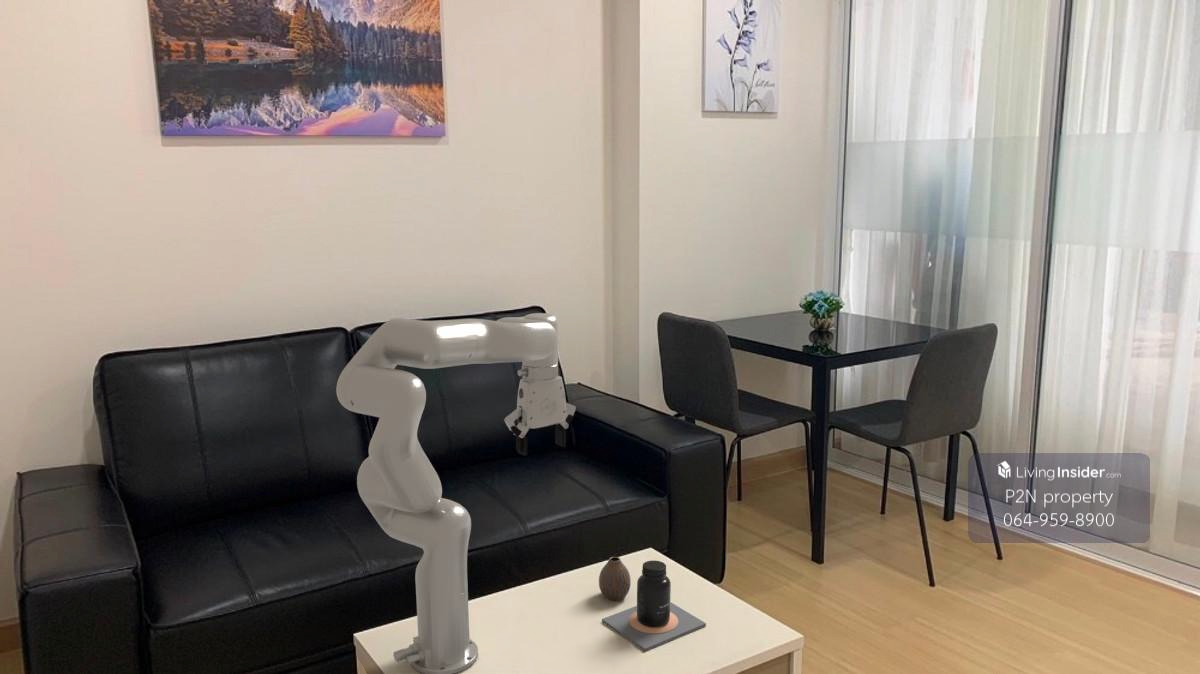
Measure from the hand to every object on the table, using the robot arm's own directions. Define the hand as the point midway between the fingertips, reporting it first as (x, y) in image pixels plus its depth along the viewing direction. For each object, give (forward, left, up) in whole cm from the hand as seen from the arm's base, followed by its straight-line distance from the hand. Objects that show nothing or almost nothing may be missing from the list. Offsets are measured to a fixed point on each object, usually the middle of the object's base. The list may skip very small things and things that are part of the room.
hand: (541, 449), depth 183 cm
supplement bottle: (+10, -26, -32) cm, 42 cm away
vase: (+11, -12, -33) cm, 36 cm away
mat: (+10, -26, -32) cm, 43 cm away
